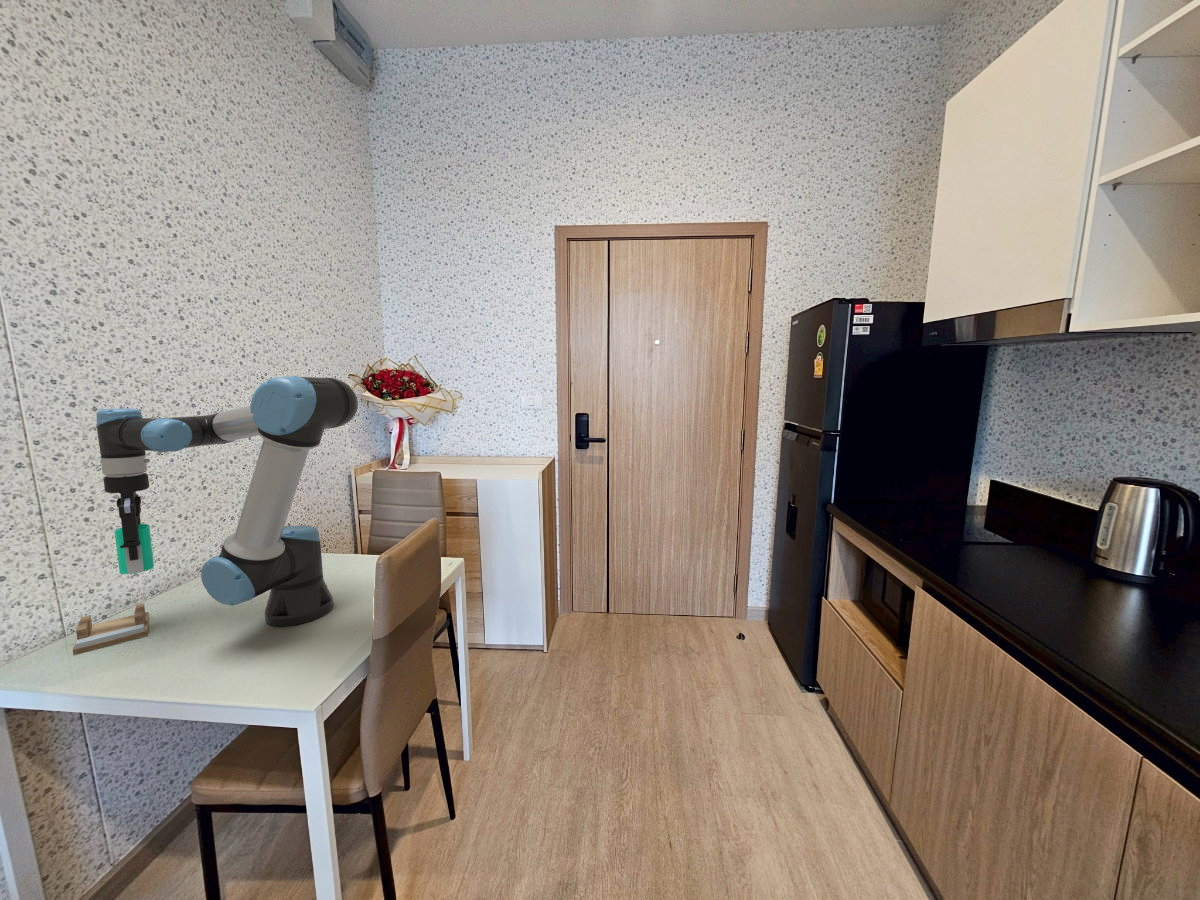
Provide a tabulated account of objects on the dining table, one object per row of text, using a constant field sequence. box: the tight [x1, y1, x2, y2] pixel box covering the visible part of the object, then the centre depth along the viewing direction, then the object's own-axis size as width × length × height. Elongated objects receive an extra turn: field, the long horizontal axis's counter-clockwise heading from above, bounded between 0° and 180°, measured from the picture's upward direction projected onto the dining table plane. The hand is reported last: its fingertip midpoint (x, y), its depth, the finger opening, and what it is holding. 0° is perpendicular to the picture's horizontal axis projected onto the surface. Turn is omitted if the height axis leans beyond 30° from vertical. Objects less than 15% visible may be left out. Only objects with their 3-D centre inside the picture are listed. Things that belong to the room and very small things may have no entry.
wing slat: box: [75, 624, 144, 648], centre depth 111 cm, size 2×11×1 cm, turn 132°
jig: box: [72, 602, 150, 656], centre depth 114 cm, size 14×12×4 cm
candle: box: [114, 523, 155, 575], centre depth 114 cm, size 6×6×12 cm
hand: (136, 567), depth 115 cm, fingers closed on candle, 6 cm apart
